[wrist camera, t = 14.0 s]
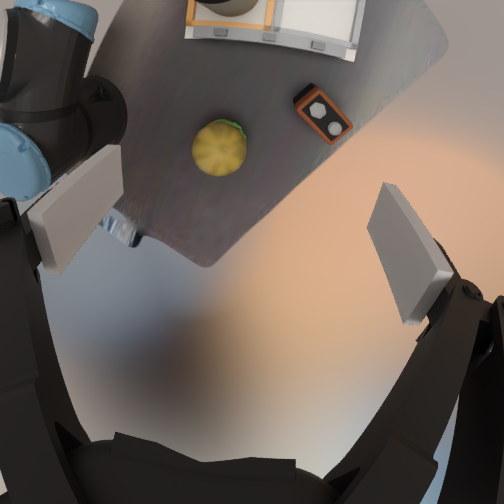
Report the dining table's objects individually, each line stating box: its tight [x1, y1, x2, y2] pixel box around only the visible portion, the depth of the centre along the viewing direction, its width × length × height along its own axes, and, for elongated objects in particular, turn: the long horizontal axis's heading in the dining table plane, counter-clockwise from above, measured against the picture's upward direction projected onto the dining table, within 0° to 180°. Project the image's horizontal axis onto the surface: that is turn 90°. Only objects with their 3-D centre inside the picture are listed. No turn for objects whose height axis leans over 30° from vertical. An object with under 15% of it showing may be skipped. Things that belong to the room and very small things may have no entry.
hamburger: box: [191, 119, 247, 177], centre depth 42 cm, size 8×7×12 cm
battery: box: [293, 83, 353, 145], centre depth 38 cm, size 4×7×10 cm, turn 46°
